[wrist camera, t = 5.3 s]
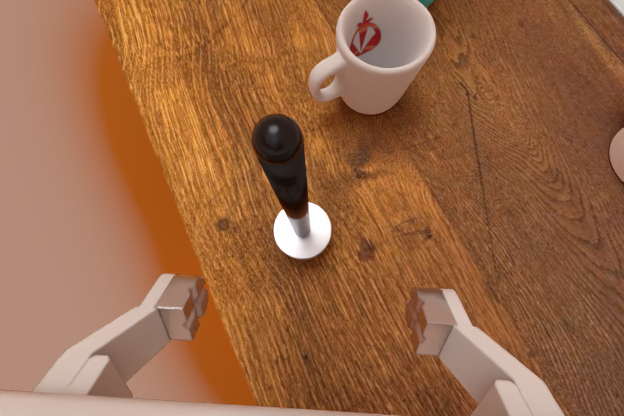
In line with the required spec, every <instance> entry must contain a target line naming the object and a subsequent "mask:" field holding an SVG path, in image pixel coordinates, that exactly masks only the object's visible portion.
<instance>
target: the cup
mask: <svg viewBox="0 0 624 416" xmlns="http://www.w3.org/2000/svg"><path fill="white" fill-rule="evenodd" d="M435 41H436V27H435V23H434V20H433V18H432V16H431V14H430V13H429V11H428V10H427V9H426V7H425V6H424V5H423V4H421V3H420V2H419V1H418V0H352V1H351V2H350V3H349V4H348V5H347V6H346V7H345V8H344V10H343V11H342V13H341V15H340V17H339V19H338V23H337V27H336V50H337V51H336V53H335V54H333V55H332V56H330V57H328V58H326V59H324V60H323V61H321V62H320V63H318V64H317V65H316V66H315V67H314V68H313V70H312V71H311V73H310V76H309V82H308V84H309V90H310V92H311V95H312V96H313V98H314V99H315V100H316V101H317V102H320V103H324V102H328V101H331V100H333V99H335V98H337V97H342V99H343V101H344V102H345V103H346V104H347V105H348V106H349V107H350V108H351V109H353V110H354V111H356V112H359V113H362V114H369V115H372V114H379V113H382V112H384V111H386V110H388V109H390V108H391V107H392V106H394V105H395V104H396V103H397V102H398V100H399V99H400V98H401V96H402V95H403V94H404V92H405V91H406V89H407V88H408V86H409V85H410V84H411V82H412V81H413V79H414V78H415V76H416V75H417V74H418V72H419V71H420V69H421V68H422V66H423V65H424V64H425V62H426V61H427V59H428V58H429V56H430V54H431V53H432V51H433V48H434V45H435ZM332 75H335V78H334V80H333V82H332V83H331V84H330V85H329V86H328V87H326V88H324V89H320V87H321V84H322V83H323V82H324V81H325V80H326V79H327V78H328V77H330V76H332Z"/></svg>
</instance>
